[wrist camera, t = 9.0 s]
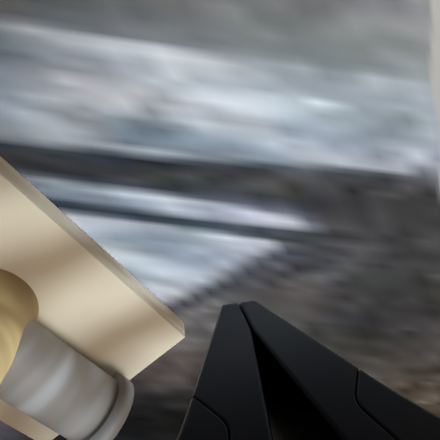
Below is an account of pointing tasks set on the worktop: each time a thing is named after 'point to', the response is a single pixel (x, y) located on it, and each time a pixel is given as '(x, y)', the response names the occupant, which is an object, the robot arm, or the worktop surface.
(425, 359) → the worktop surface
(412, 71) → the worktop surface
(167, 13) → the worktop surface
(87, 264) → the valve board
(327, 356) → the robot arm
